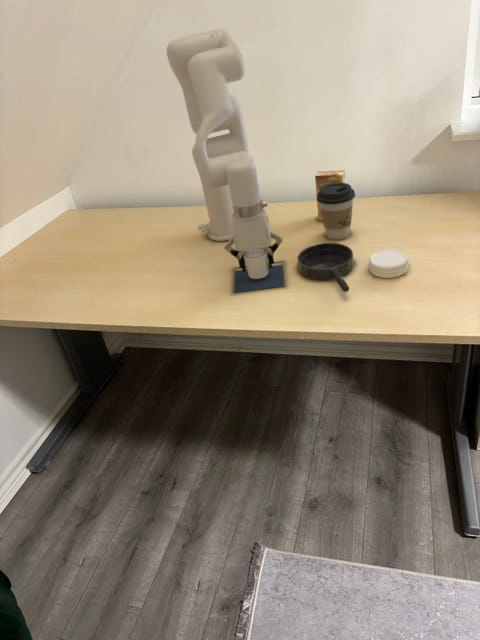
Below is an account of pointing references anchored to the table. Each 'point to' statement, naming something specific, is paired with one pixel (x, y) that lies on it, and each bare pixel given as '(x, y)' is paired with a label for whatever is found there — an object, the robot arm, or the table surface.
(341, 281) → the pan handle
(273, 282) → the cloth
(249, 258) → the white cup
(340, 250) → the pan
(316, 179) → the candy box
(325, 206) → the coffee cup
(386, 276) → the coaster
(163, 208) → the table surface
